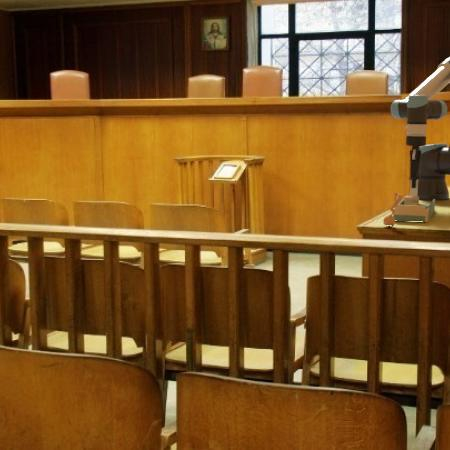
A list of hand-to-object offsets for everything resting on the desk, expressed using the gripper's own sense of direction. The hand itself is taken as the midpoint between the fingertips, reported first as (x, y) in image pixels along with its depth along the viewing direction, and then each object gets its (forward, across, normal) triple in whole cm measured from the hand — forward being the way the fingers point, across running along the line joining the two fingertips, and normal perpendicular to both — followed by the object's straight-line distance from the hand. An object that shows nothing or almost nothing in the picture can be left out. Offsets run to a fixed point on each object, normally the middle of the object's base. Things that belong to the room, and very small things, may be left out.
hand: (413, 196), depth 304 cm
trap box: (+5, +18, +3) cm, 19 cm away
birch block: (+3, +8, 0) cm, 9 cm away
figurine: (+6, +45, -2) cm, 45 cm away
